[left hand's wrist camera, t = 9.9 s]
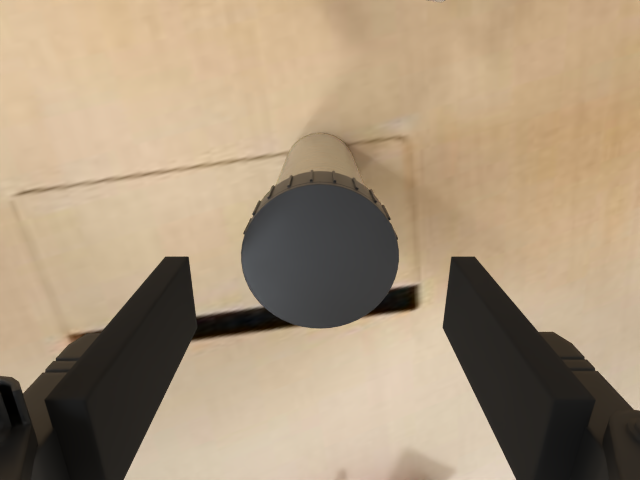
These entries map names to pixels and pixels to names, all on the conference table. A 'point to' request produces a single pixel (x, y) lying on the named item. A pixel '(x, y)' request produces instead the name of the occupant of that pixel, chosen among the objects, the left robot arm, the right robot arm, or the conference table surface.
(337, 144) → the jar
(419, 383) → the conference table surface
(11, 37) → the conference table surface
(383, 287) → the lid
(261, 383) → the conference table surface
